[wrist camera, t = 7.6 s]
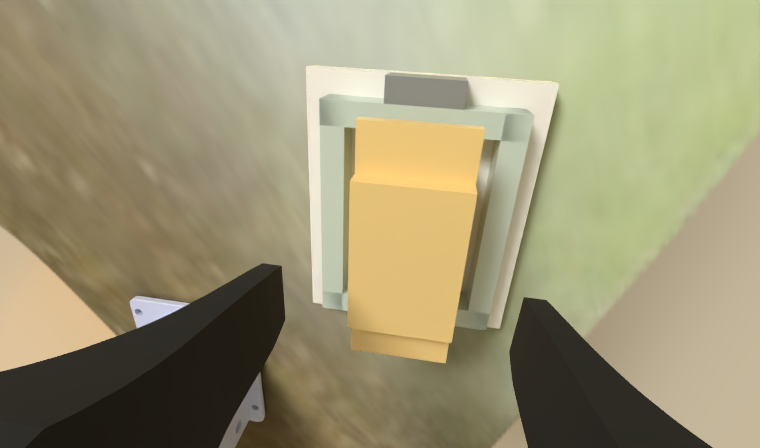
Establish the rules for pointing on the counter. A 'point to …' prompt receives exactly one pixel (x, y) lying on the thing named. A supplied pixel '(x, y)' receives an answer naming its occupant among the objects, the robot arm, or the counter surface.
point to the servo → (409, 233)
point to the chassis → (439, 105)
